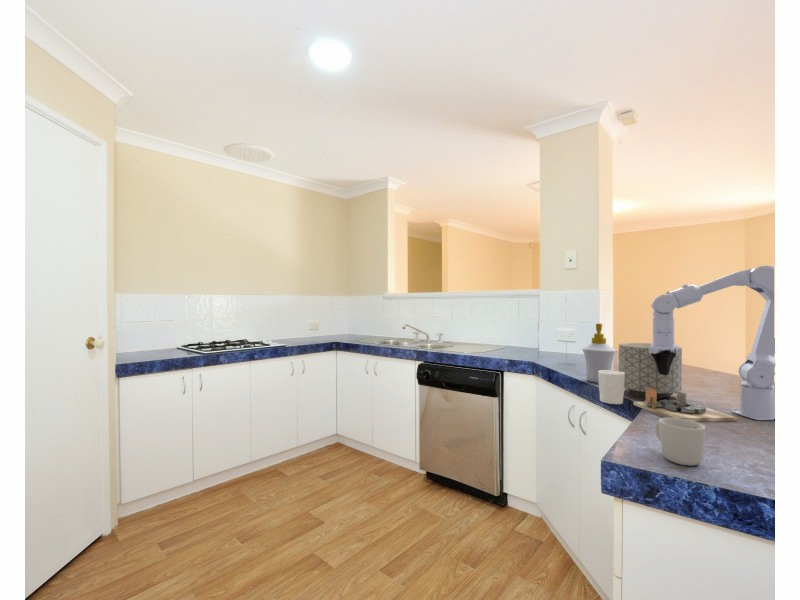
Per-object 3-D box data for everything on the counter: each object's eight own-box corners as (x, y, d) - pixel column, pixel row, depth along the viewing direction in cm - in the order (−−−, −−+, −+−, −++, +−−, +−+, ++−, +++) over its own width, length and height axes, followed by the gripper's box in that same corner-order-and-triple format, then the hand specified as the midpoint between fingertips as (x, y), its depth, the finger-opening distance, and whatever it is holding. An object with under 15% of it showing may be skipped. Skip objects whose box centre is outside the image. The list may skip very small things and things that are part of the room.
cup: (640, 449, 87) (640, 413, 87) (673, 448, 88) (673, 413, 88) (678, 470, 76) (678, 429, 76) (716, 468, 77) (716, 428, 77)
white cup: (628, 405, 125) (628, 374, 125) (602, 404, 127) (602, 373, 127) (619, 399, 133) (620, 370, 133) (595, 398, 134) (595, 369, 135)
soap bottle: (616, 381, 166) (616, 323, 166) (614, 386, 155) (614, 324, 155) (584, 377, 172) (584, 322, 173) (580, 382, 162) (580, 323, 162)
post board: (686, 404, 127) (686, 386, 127) (736, 421, 109) (736, 399, 109) (633, 404, 126) (633, 386, 126) (675, 421, 108) (675, 400, 108)
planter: (639, 388, 152) (639, 342, 152) (693, 399, 134) (693, 347, 135) (607, 392, 143) (607, 343, 144) (660, 405, 126) (660, 349, 126)
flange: (696, 405, 121) (696, 389, 121) (711, 414, 110) (711, 397, 111) (641, 400, 126) (641, 385, 126) (650, 409, 116) (650, 392, 116)
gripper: (661, 330, 132) (661, 370, 132) (638, 332, 125) (638, 374, 125) (684, 332, 126) (685, 373, 126) (662, 333, 119) (662, 378, 119)
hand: (663, 374), depth 125 cm, fingers closed
